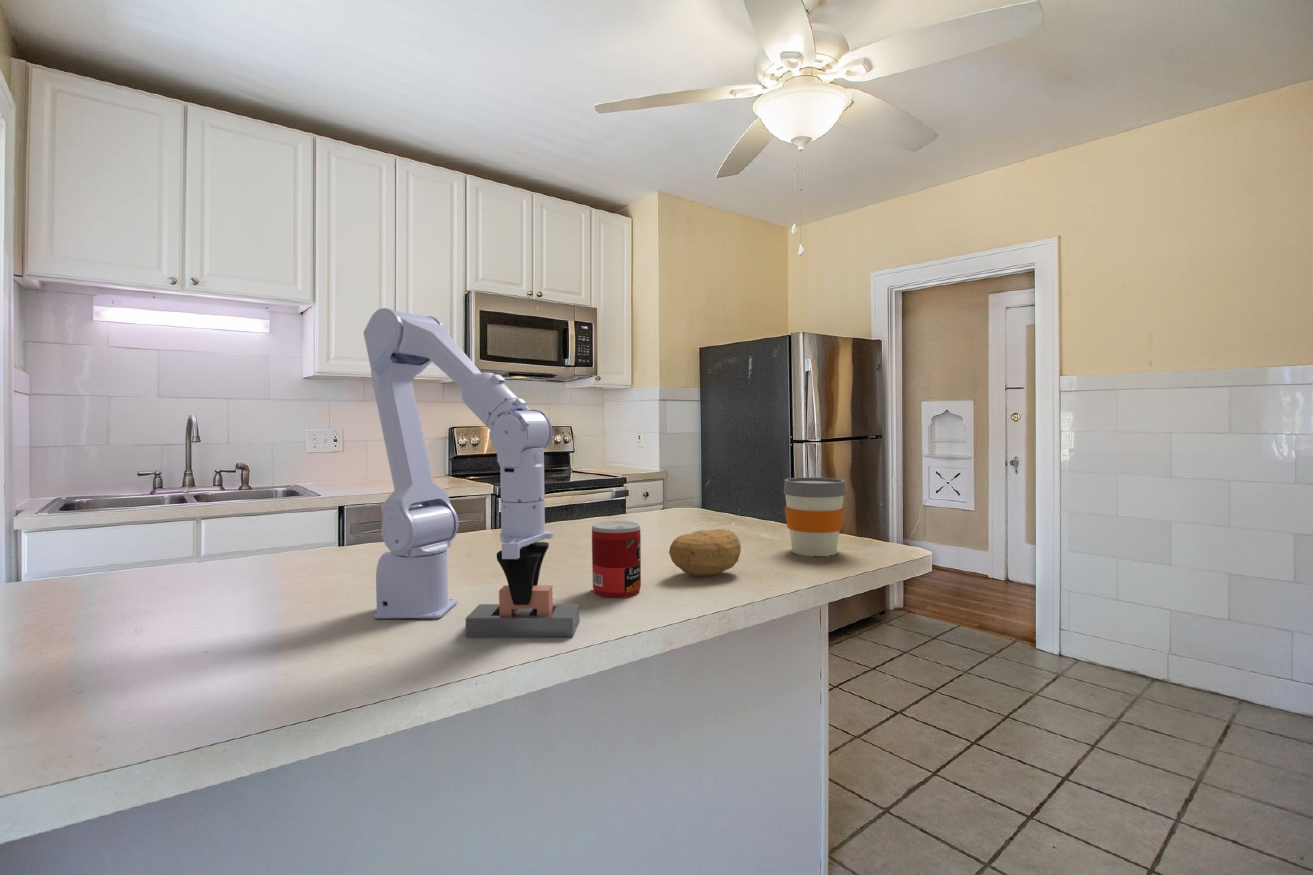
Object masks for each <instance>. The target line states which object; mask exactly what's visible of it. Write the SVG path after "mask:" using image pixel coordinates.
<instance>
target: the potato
mask: <svg viewBox="0 0 1313 875" xmlns="http://www.w3.org/2000/svg"><path fill="white" fill-rule="evenodd" d="M741 548H742V546H741V541H740V539H739V536H738V535H736V534H735V533H734V531H731V530H730V529H726V528H720V529H718V528H717V529H710V530H708V529H705V530H704V529H701V530H697V531H692V532H690V533H686V534H681V535H679V536H677V537H676V538H674V539H673V541H672V543H671V544H670V546H669V550H668V551H669V552H668V554H669V556H670V559H671V562H672V563H673V564H674V565H675V567H677V568H679V569H680V570H682V572H683V573H685V574H687V575H688V576H691V577H694V578H695V577H696V578H708V577H713V576H717V574H720V573H723V572H725V571H728V570H730V569H732V568H734V566H735V565H736V564H737V563H738V561H739V558H740V555H741V552H742V551H741V550H742V549H741Z"/></svg>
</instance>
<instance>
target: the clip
mask: <svg viewBox="0 0 1313 875" xmlns="http://www.w3.org/2000/svg"><path fill="white" fill-rule="evenodd" d="M498 602H499V603H498V604H499V616H514V614H515V613H516V609H537V616H551V615H552V613H553V604H554V603H553V602H554V601H553V585H550V584H549V585H548V584H547V585H546V584H544V585H543V584H542V585H539V584H538V585H533V590H532V596H531V601H530V604H529V605H514V604H513V601H512V598H511V594H510V590H509V586H508V584H505V585H503V586H501V588H500V589H499V591H498Z"/></svg>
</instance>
